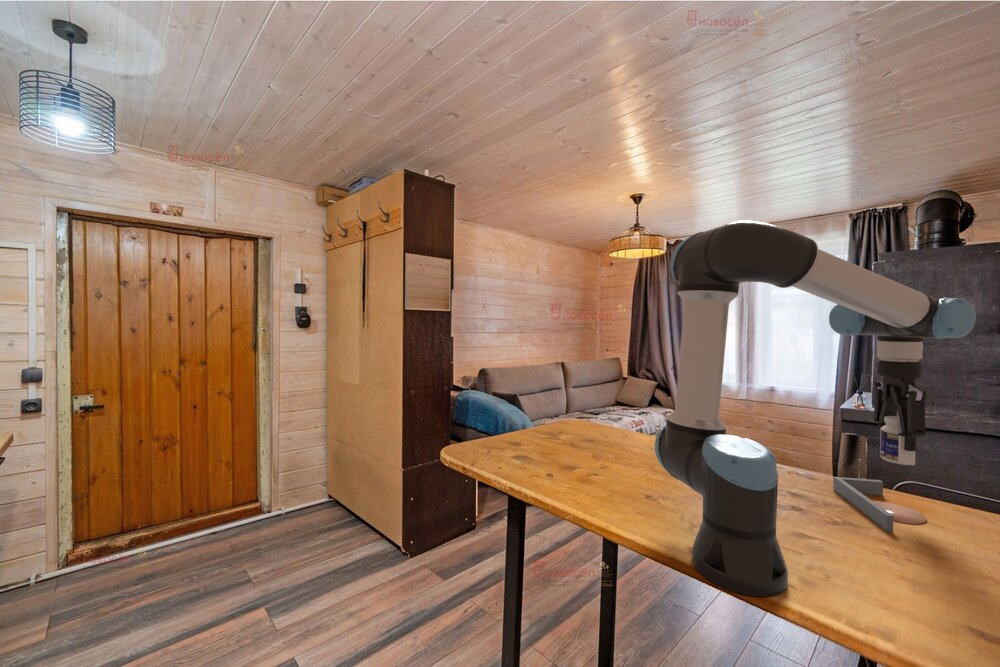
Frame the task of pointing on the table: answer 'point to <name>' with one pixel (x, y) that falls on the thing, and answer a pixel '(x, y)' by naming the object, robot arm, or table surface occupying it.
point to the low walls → (864, 498)
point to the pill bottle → (890, 439)
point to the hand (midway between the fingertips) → (896, 459)
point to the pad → (903, 513)
